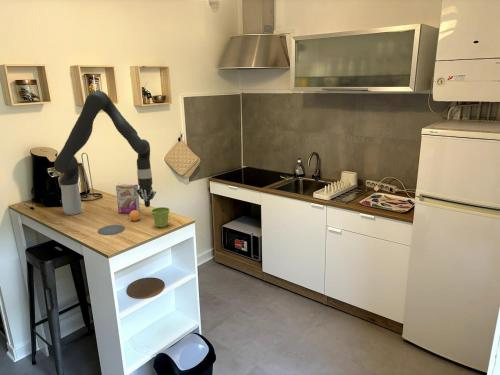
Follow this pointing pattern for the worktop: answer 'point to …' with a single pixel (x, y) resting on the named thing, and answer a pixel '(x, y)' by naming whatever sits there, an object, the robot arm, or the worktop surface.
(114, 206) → the worktop surface
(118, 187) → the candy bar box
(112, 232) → the disc
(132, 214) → the ball
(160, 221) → the plant pot
